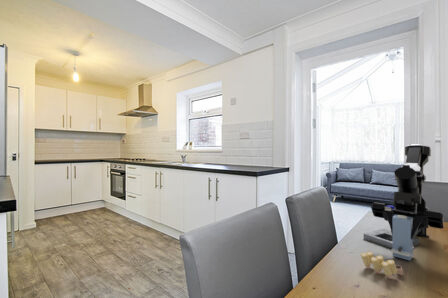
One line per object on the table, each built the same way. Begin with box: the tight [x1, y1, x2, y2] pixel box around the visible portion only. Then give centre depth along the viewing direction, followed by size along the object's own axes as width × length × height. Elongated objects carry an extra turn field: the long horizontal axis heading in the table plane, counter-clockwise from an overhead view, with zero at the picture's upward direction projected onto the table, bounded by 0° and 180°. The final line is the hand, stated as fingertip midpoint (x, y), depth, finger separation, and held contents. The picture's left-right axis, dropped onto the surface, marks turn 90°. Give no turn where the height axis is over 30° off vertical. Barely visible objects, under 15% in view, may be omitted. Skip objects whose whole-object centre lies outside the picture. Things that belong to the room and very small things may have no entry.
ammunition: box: [360, 251, 404, 280], centre depth 63 cm, size 5×7×8 cm
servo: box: [390, 214, 415, 262], centre depth 72 cm, size 10×4×13 cm, turn 133°
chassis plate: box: [363, 228, 420, 250], centre depth 86 cm, size 14×12×2 cm
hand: (401, 236), depth 72 cm, fingers closed on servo, 4 cm apart
